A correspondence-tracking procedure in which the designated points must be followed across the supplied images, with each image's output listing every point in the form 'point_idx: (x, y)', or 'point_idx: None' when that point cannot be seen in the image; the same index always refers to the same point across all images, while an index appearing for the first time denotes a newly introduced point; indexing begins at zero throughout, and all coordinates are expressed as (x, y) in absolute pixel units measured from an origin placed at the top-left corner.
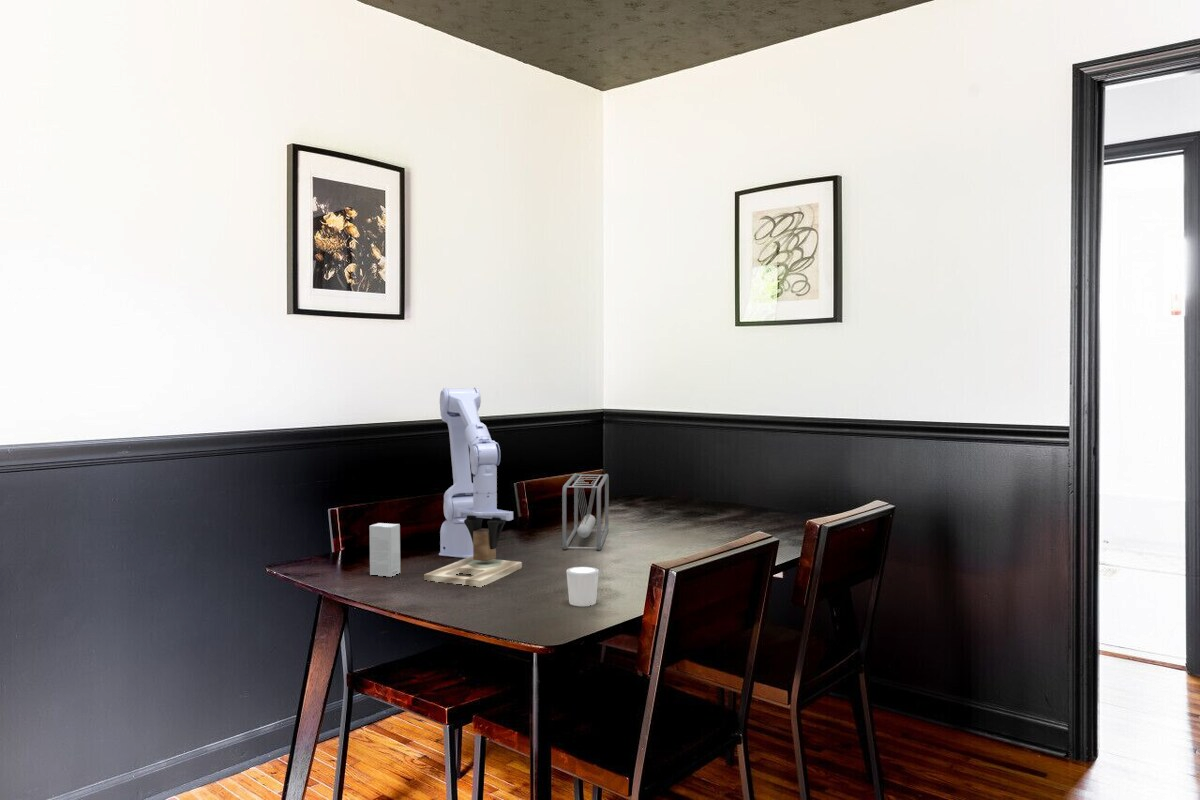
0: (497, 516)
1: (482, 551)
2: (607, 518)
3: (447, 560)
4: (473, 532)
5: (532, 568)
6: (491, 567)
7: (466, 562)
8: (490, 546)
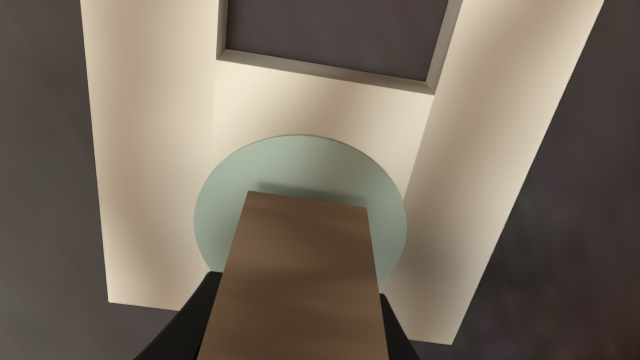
0: None
1: (286, 237)
2: None
3: (571, 337)
4: None
5: (69, 283)
6: (213, 148)
7: (428, 232)
8: (219, 284)
